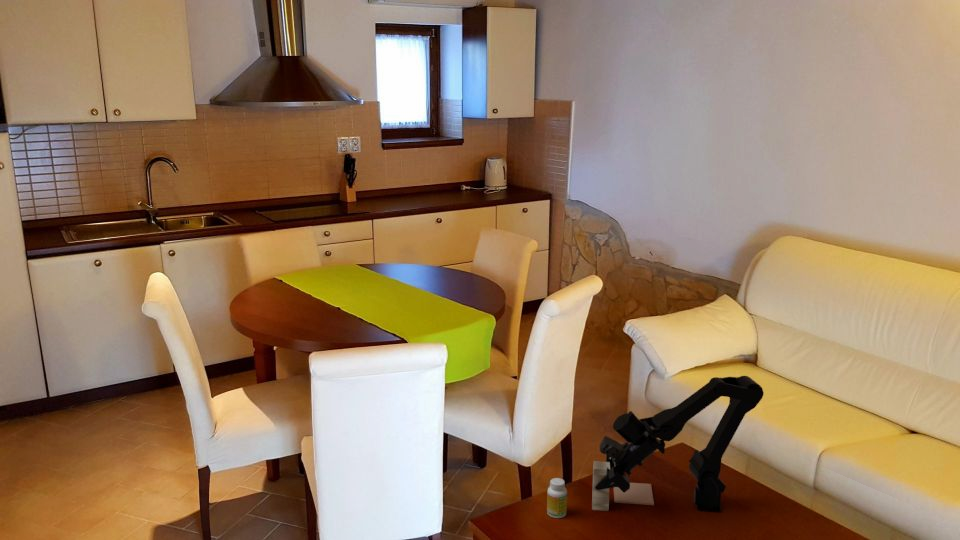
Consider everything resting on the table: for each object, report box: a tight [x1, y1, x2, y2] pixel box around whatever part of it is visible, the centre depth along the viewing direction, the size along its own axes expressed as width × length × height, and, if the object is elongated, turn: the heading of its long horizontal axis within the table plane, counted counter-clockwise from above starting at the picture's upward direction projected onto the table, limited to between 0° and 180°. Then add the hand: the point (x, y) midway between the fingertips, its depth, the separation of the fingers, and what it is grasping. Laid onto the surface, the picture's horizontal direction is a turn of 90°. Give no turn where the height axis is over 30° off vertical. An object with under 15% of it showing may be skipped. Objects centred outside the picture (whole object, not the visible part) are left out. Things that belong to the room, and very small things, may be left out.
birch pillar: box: [591, 460, 610, 512], centre depth 202 cm, size 4×4×12 cm
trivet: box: [613, 482, 655, 506], centre depth 210 cm, size 11×11×1 cm
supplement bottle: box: [546, 477, 568, 519], centre depth 199 cm, size 5×5×10 cm
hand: (596, 484), depth 202 cm, fingers closed on birch pillar, 4 cm apart
